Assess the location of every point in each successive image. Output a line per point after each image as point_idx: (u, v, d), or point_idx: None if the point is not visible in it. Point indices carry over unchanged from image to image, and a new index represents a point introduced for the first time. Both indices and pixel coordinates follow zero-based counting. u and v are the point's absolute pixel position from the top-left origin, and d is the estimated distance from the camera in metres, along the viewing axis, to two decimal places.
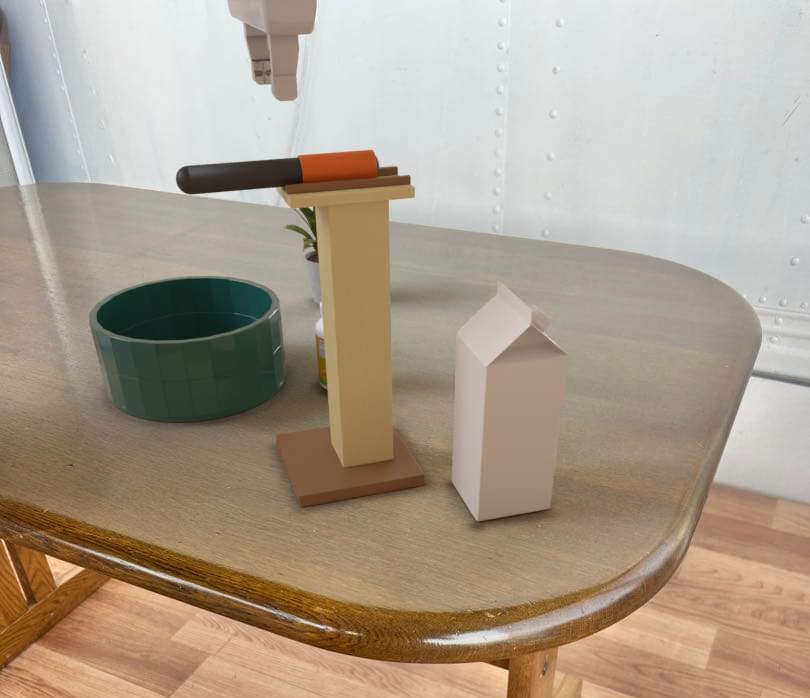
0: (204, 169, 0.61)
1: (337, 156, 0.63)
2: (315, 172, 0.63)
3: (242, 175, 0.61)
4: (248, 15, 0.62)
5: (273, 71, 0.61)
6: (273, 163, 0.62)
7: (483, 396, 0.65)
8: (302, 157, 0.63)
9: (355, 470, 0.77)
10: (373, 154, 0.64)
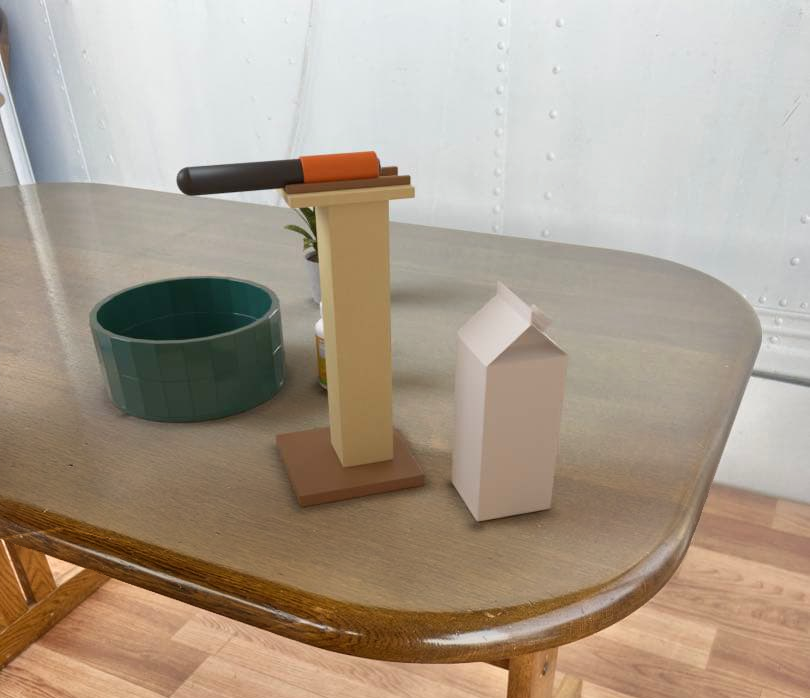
0: (206, 175, 0.60)
1: (340, 163, 0.63)
2: (317, 179, 0.63)
3: (244, 182, 0.61)
4: None
5: None
6: (275, 169, 0.62)
7: (483, 396, 0.65)
8: (305, 163, 0.62)
9: (355, 470, 0.77)
10: (376, 161, 0.63)
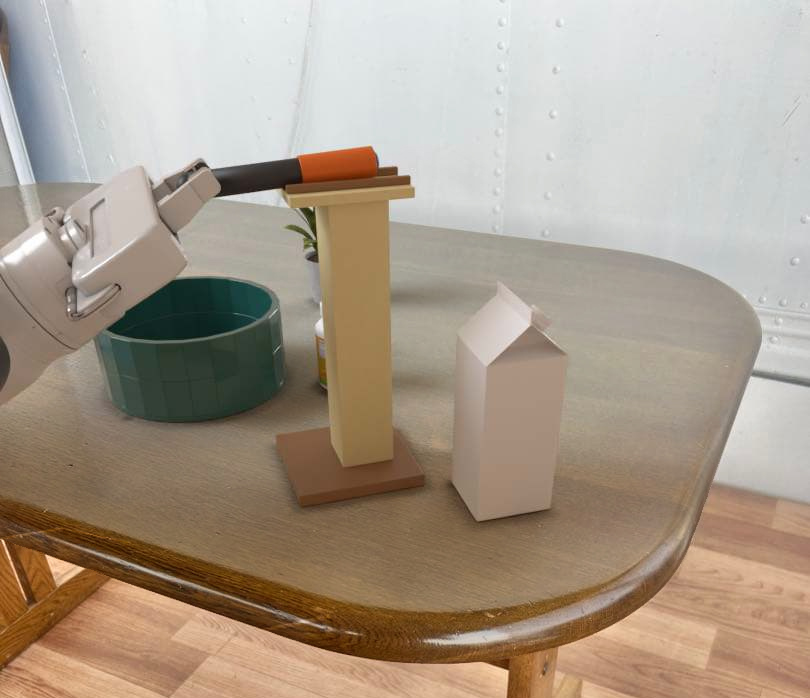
0: None
1: (336, 155, 0.63)
2: (315, 173, 0.63)
3: (242, 179, 0.61)
4: (137, 186, 0.62)
5: (179, 170, 0.63)
6: (272, 166, 0.62)
7: (483, 396, 0.65)
8: (301, 158, 0.62)
9: (355, 470, 0.77)
10: (372, 151, 0.63)
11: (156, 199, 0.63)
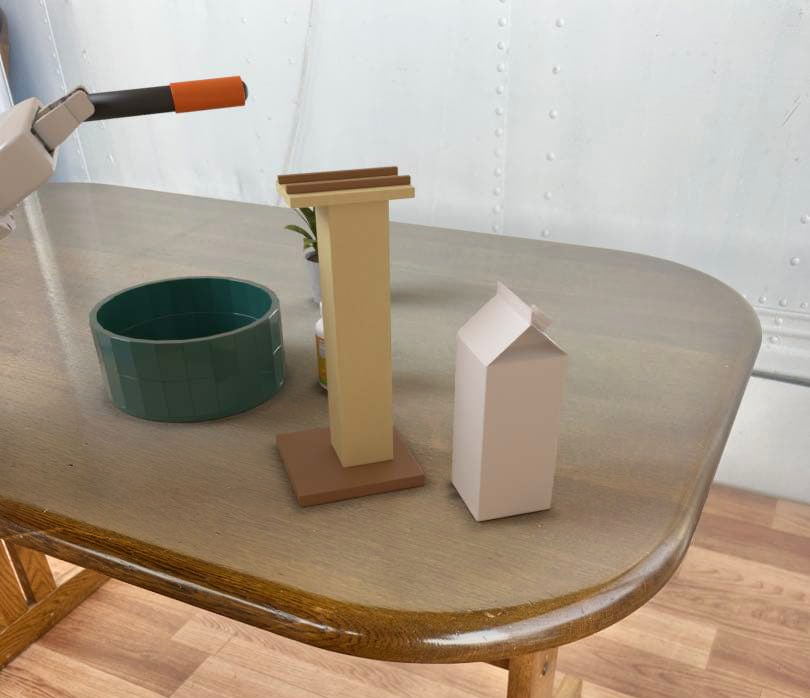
0: None
1: (205, 83, 0.69)
2: (186, 99, 0.69)
3: (117, 103, 0.67)
4: (22, 111, 0.68)
5: (62, 96, 0.69)
6: (145, 91, 0.68)
7: (483, 396, 0.65)
8: (172, 85, 0.68)
9: (355, 470, 0.77)
10: (239, 80, 0.69)
11: None
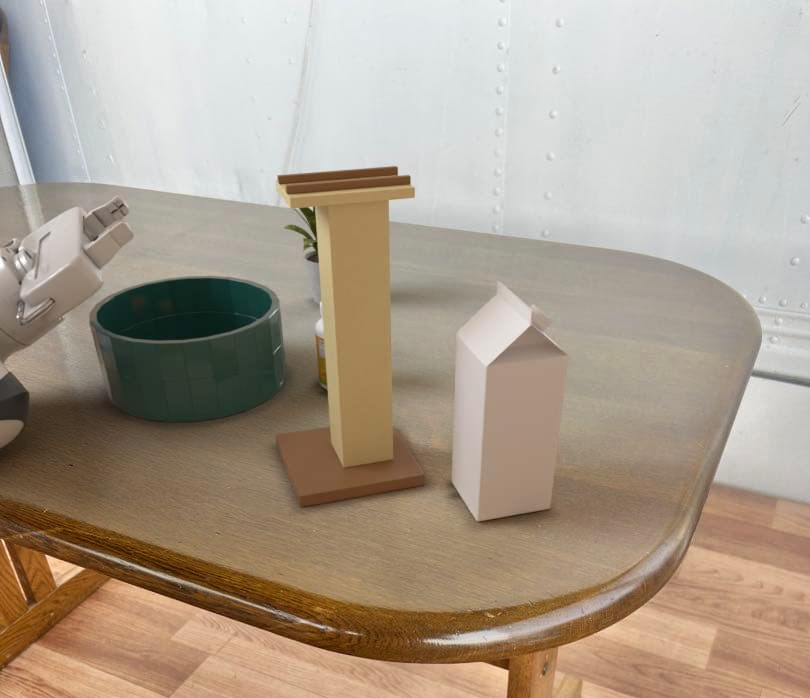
0: None
1: None
2: None
3: None
4: (72, 225, 0.84)
5: (103, 205, 0.87)
6: None
7: (483, 396, 0.65)
8: None
9: (355, 470, 0.77)
10: None
11: (87, 226, 0.87)
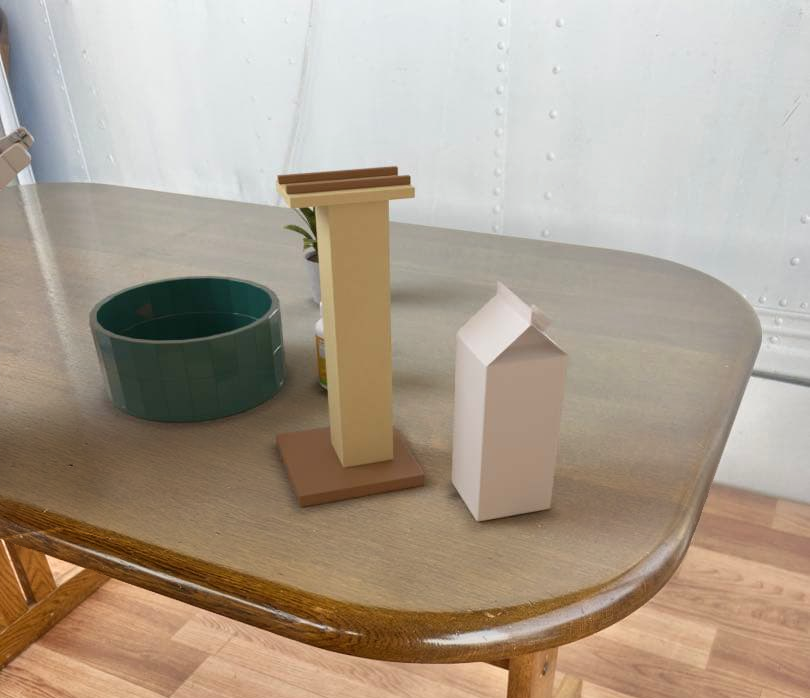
0: None
1: None
2: None
3: None
4: None
5: (5, 136, 0.79)
6: None
7: (483, 396, 0.65)
8: None
9: (355, 470, 0.77)
10: None
11: None
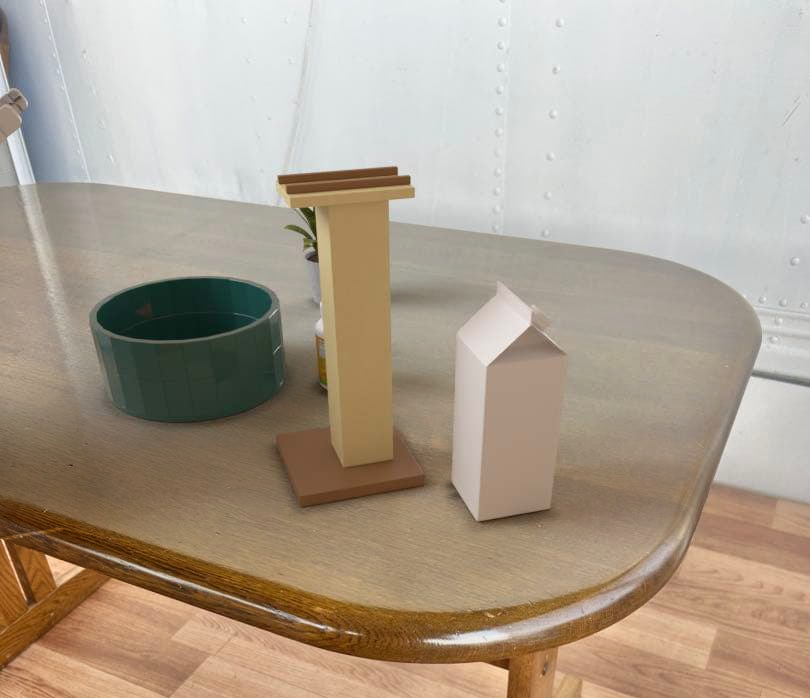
0: None
1: None
2: None
3: None
4: None
5: None
6: None
7: (483, 396, 0.65)
8: None
9: (355, 470, 0.77)
10: None
11: None
